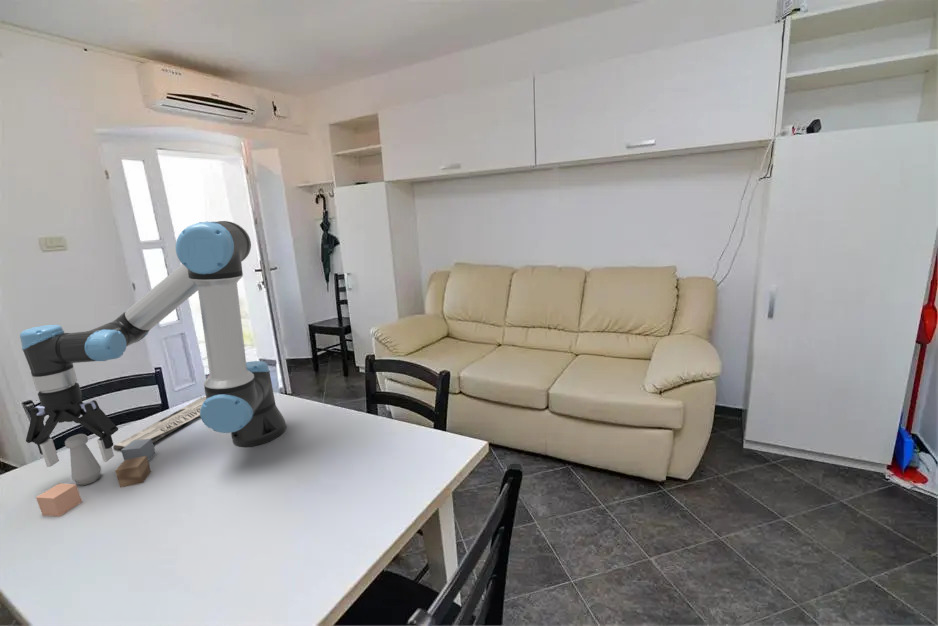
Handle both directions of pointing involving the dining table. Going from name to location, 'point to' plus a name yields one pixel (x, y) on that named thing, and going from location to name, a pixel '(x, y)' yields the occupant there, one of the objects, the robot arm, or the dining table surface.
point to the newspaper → (166, 424)
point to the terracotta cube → (59, 499)
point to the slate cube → (139, 449)
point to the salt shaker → (82, 460)
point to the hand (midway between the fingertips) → (81, 461)
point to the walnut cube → (133, 471)
